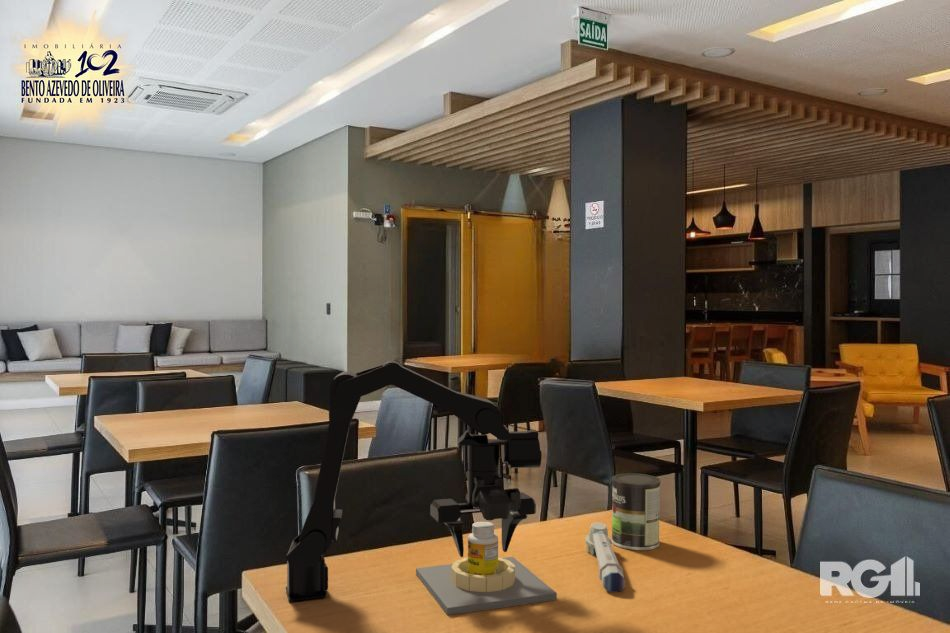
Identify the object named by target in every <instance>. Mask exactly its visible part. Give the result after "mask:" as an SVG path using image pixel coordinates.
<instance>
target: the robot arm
mask: <svg viewBox="0 0 950 633" xmlns="http://www.w3.org/2000/svg"><path fill="white" fill-rule="evenodd" d="M389 386H395V387H396V388H398V389H401V390H402V391H405V392H407V393H409V394H412V395H414V396H415V397H418V398H420V399H422V400H424V401H426V402H429V403H431V405H432V404H433V405H435V406H437V407H439V408H441V409H443V410H446V411H447V412H449V413H450V414H452V415H453V416H455V417H456V418H458V420H460V421H462V422H463V424H465V425H467V426H468V427H470V428H471V429H473V430H474V431H475V432H478V434H471V433H470V432H469V430H466V429H465V431H464V433H463V434H462V435H461V436H460V437H458V438H457V440H456V441H457V443H458V445H459V446H461V447H462V446H464V447H465V446H467V471H466V472H465V477H466V478H467V493H466V494H465V500H466V501H467V502H463V503H462V502H460V503H457V501H455V500H454V499H452V498H442V499H441V498H439V499H433V500H432V502H431V503H430V507H429V510H430V511H429V512H430V513H429V515H430V516H431V517H432V518H433V519H434V520H435V521H436V522H437V523H441V524H444V525H445V526H447V527H448V530H449V531H450V533H451V536H452V538H453V541H454V545H455V547H456V550H457V552H458V556H460V558H464V551H465V550H464V534H463V528H464V525H465V523H464V522H463V521H462V520H461V515H467V514H477V513H481V514H482V517H483V519H484V520H486V521H493V520H498V519H499V520H500V519H501V548H502V552H503V553H507V552H508V549H509V546H510V544H511V541H512V538H513V535H514V532H515V530H516V529H517V526H518V524H520V522H522V521H523V520H527V518H528V515H535V514H536V513H537V510H536V509H537V504H536V500H535V499H534V498H533V497H531V496H530V495H528V494H527V493H525V492H522V491H520V489H519V488H517V487H516V488H507V489H505V488H504V486H503V479H502V476H501V475H500V452H501V463H503V464H506V463H507V467H508V469H533V468H534V469H535V468H537V469H539V468H541V465H542V454H543V452H542V450H541V445H540V444H541V443H540V438H539V432H538V431H537V430H536V429H529V430H526V431H521V430H520V431H519V430H518V431H510V430H509V428H507V426H506V425H504V424H503V423H502V413H501V411H500V409H499V407H498V406H497V405H496V404H495V403H493V402H492V401H491V400H490V399H487V398H485V397H480V396H477V395H474V394H473V395H472V394H468V393H464V392H459V391H456V390H453V389H451V388H449V387H447V386H445V385H444V384H441V383H440V382H437V381H435V380H433V379H430V378H429V377H426V376H425V375H421V374H420V373H417V372H416V371H413V370H411V369H410V368H407V367H405V366H403V365H401V364H400V363H399V362H398V361H394V360H389V361H386V362H384V364H380V365H378V366H374V367H371V368H369V369H368V368H367V369H365V370H361V371H360V372H356V373H355V372H353V371H342V372H340V373H339V374H337V375H336V376H334V377H333V380H332V381H331V382H330V385H329V387H328V427H327V432H326V437H325V442H324V447H323V453H322V457H321V463H320V467H319V473H318V477H317V482H316V487H315V492H314V497H313V500H312V503H311V505H310V508H309V510H308V513H307V516H306V518H305V521H304V523H303V526H302V529H301V531H300V533H299V534H298V535H297V536H296V537H295V538H294V539H292V542H291V544H290V546H289V549H288V550H287V551H288V552H287V554H286V556H285V558H286V563H287V564H286V573H287V574H286V586H285V592H286V595H288V596H287V599H289V600H288V601H289V602H290V601H292V602H299V601H298V600H300V601H306V600H316V599H323V598H324V599H325V598H327V596H328V594H327V591H328V590H329V567H328V565H327V563H326V562H325V561H326V559H325V557H324V554H325V553H327V552H328V551H329V550H330V548H331V546H332V544H333V542H337V540H338V534H339V530H340V529H339V524H340V522H341V519H342V516H343V509H341V508H340V509H339V508H337V509H336V495H337V491H338V485H339V480H340V477H341V476H340V475H341V470H342V464H343V459H344V456H345V455H344V454H345V452H346V451H345V449H346V445H347V439H348V435H349V430H350V425H351V424H352V421H353V418H354V415H355V414H356V411H357V408H358V405H359V404H360V400H361V397H364V396H366V395H370V394H371V393H374V392H376V391H379V390H381V389H383V388H386V387H389ZM489 434H491V435H492V436H494V437H495V438H488V435H489ZM500 446H501V447H500ZM500 448H501V451H500Z"/></svg>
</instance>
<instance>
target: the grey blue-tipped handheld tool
mask: <svg viewBox="0 0 950 633" xmlns="http://www.w3.org/2000/svg"><path fill="white" fill-rule="evenodd" d="M608 532H609V531H608V527H607V524H605V523H604V522H602V521H601V522H600V521H594V522H592V523H591V525H590V527H589V533H587V535H586V536H585V537H584V539H585V544H586V551H587V553H588V554H589V553H590V555H591V556H596V559H597V564H598V569H599V570H598V572H599V574H598V576H599V578H598V579H599V580H600V581H601V582H602V586H603V588H604V589H605V590H606V591H607V592H611V593H612V592H613V593H615V592H616V593H619V592H621V591H622V590H623V589H625V577H624V571H625V570H624V569H623V567H622V566H621V565H620V563H619V561H618V558H617V556H616V554H615V551H614V549H613V547H612V544H613V543H612V537H610V536H609V534H608Z"/></svg>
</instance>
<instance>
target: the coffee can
mask: <svg viewBox="0 0 950 633" xmlns="http://www.w3.org/2000/svg"><path fill="white" fill-rule="evenodd" d="M611 482H612V498H611V499H612V500H611V501H612V508H611V509H612V511H611V514H612V515H611V516H612V520H611V521H612V522H611V524H612V525H611V527H612V529H611V541H612V544H613V546H614V545H615V546H616V547H618V548H621V549H625V550H629V551H639V552H640V551H650V550H655V549H657V548H660V547H659V546H660V510H661V509H660V508H661V506H660V501H661V500H660V497H661V496H660V495H661V494H660V493H661V478H659V477H657V476H655V475H650V474H647V473H646V474H644V473H636V472H635V473H634V472H633V473H629V472H627V473H619V474H615V475H613V476H612V477H611Z"/></svg>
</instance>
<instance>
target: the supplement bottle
mask: <svg viewBox="0 0 950 633" xmlns="http://www.w3.org/2000/svg"><path fill="white" fill-rule="evenodd" d="M471 528H472V529H471V532H472V533H470V534H468V536H467V557H468V573H469V574H472V575H485V576H486V575H494V574H498V557H499V536H498V535H497V534H496V533H495V525H494V523H492V522H490V521H477V522H474V523H472V526H471Z"/></svg>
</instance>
